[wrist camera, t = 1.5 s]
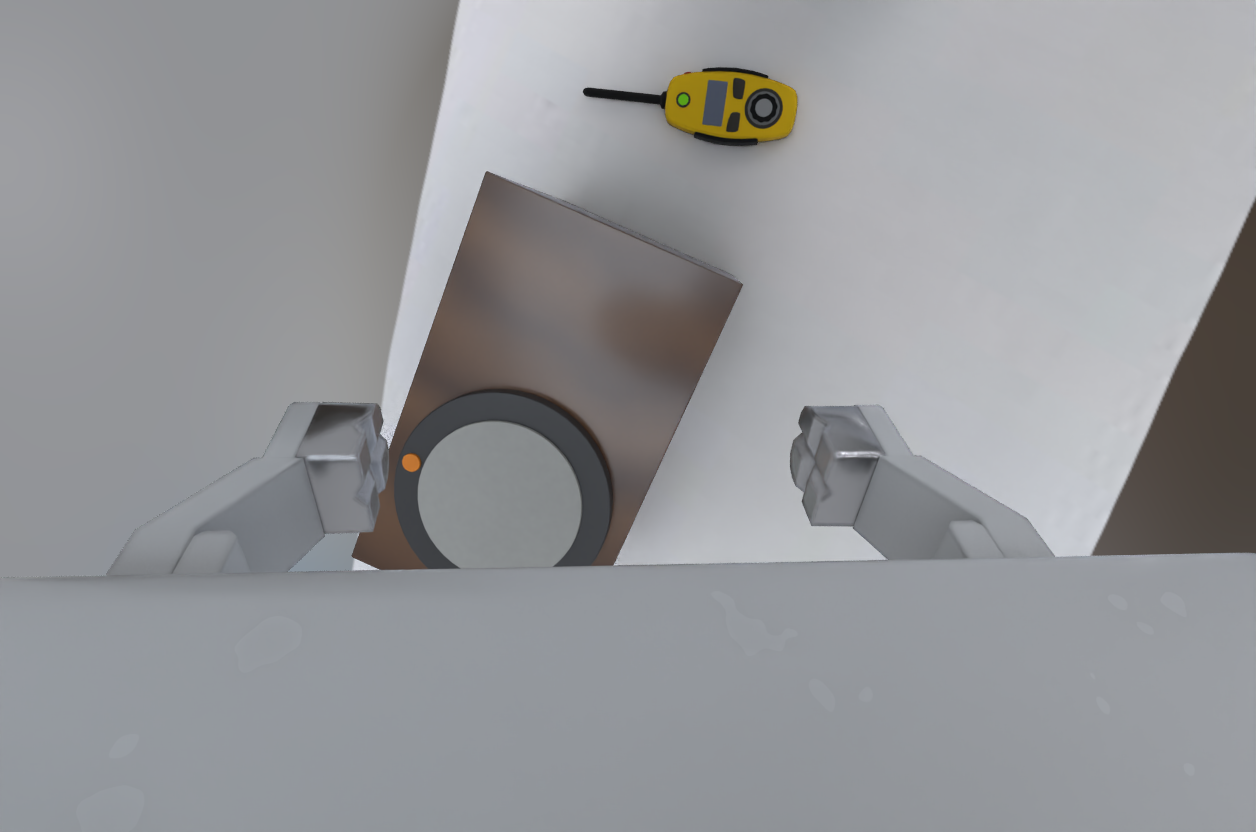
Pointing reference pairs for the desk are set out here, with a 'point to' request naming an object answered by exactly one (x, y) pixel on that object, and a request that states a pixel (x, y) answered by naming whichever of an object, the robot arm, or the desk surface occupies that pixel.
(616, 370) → the desk shelf
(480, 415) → the hot plate
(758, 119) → the yellow walkie talkie
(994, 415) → the desk surface
